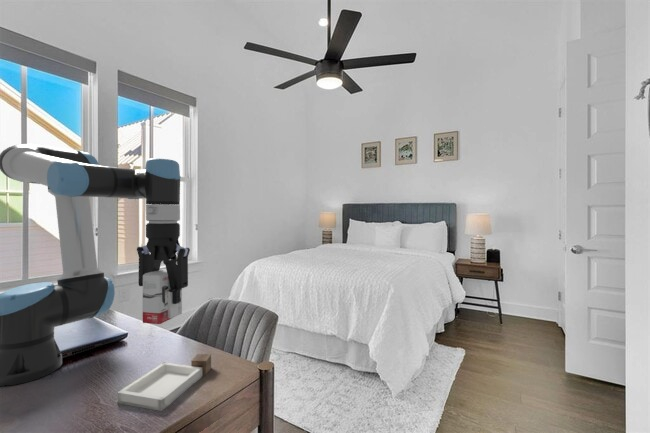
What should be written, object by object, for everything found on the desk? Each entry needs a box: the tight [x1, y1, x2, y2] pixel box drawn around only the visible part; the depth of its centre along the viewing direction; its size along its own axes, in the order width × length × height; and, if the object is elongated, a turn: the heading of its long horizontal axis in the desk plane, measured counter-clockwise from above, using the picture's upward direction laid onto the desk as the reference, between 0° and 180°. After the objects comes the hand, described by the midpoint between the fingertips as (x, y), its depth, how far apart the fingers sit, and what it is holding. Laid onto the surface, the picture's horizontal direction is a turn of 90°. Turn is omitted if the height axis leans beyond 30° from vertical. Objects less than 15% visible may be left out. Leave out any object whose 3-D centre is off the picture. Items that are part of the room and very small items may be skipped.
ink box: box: [142, 268, 183, 325], centre depth 79 cm, size 9×5×12 cm, turn 168°
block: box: [190, 353, 212, 376], centre depth 88 cm, size 4×4×4 cm
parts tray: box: [116, 362, 203, 412], centre depth 79 cm, size 12×15×2 cm
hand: (163, 315), depth 79 cm, fingers closed on ink box, 5 cm apart
